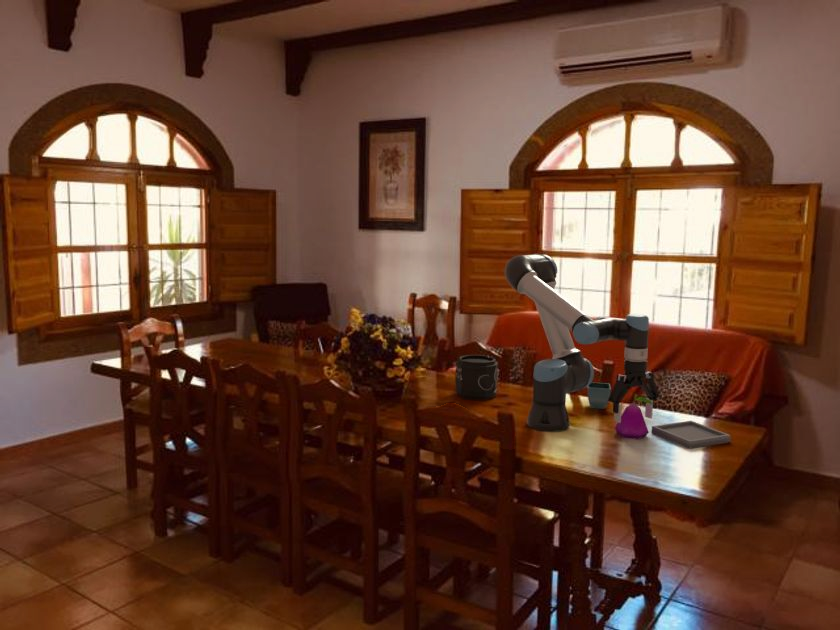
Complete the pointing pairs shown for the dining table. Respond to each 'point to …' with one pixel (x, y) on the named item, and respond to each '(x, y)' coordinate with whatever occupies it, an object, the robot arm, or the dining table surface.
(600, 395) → the flower pot
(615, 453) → the dining table surface
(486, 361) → the dark grey canister
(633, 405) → the pear
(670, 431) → the grey square tray
